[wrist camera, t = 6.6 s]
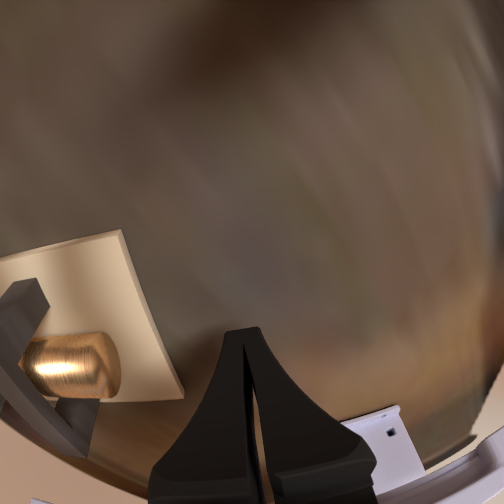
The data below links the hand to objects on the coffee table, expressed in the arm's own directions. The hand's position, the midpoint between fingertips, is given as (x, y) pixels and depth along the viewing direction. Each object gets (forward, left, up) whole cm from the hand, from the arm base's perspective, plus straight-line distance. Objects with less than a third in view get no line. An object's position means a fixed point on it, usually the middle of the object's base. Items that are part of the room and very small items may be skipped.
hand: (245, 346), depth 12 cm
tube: (+13, 0, -1) cm, 13 cm away
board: (+13, 0, -2) cm, 13 cm away
